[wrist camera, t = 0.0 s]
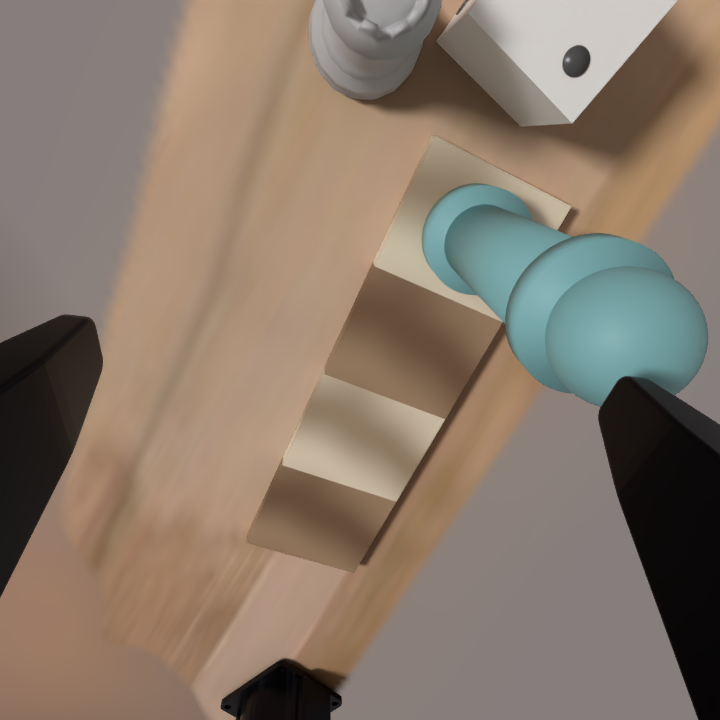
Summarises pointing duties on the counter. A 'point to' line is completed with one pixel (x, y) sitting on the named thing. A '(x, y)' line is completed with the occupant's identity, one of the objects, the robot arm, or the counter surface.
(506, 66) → the die
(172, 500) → the counter surface
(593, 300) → the pawn
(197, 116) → the counter surface
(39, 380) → the robot arm
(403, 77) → the rook chess piece
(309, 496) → the board
